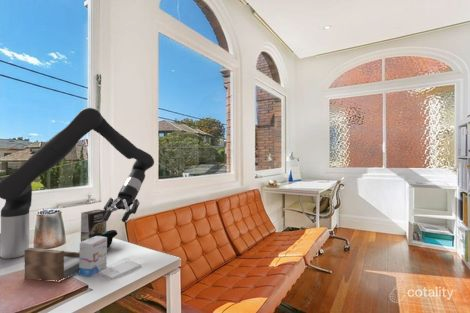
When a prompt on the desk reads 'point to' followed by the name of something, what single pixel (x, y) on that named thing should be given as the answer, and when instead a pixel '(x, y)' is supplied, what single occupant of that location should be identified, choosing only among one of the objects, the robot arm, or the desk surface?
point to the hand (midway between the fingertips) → (114, 220)
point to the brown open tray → (50, 264)
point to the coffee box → (92, 223)
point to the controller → (105, 235)
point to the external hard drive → (120, 269)
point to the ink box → (92, 255)
